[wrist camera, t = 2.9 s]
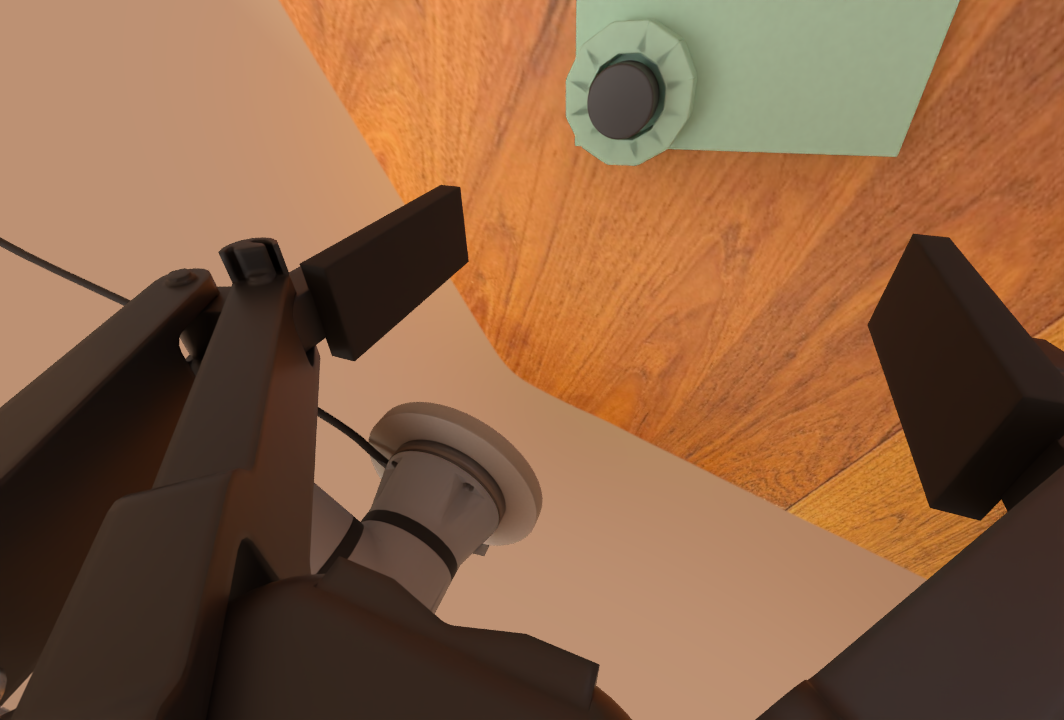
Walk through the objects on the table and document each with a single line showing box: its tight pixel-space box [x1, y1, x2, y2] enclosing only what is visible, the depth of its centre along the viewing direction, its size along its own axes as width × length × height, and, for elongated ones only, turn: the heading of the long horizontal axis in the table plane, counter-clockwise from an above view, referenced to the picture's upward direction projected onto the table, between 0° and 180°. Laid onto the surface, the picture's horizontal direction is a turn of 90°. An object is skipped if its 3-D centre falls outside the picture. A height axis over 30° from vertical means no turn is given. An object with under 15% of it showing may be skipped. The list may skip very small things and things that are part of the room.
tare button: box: [587, 60, 659, 139], centre depth 21 cm, size 3×3×2 cm
